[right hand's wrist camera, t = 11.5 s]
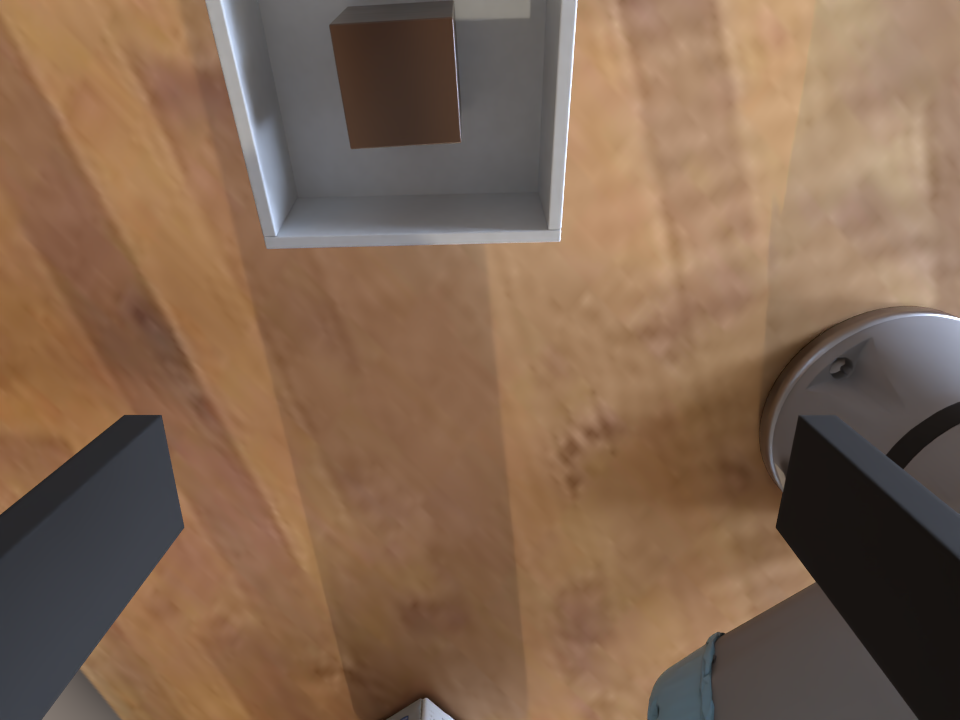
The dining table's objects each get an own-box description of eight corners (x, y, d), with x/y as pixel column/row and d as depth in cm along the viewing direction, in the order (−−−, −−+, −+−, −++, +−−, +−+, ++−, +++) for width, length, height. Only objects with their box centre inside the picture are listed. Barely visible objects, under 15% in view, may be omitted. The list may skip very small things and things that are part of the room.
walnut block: (454, 0, 26) (453, 16, 22) (461, 111, 28) (461, 143, 25) (347, 6, 26) (328, 24, 22) (364, 117, 28) (350, 149, 25)
